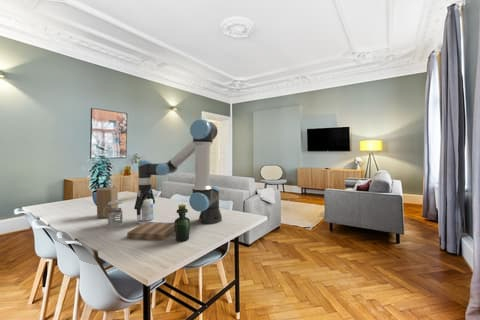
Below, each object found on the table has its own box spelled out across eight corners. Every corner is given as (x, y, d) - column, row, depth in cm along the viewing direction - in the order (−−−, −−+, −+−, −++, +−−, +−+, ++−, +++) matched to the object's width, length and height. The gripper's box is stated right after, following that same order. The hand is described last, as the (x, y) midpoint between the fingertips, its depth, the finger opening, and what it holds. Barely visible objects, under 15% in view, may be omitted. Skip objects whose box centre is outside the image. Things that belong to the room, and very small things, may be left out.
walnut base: (177, 228, 130) (177, 223, 130) (162, 240, 112) (162, 234, 112) (146, 226, 132) (145, 221, 132) (127, 238, 114) (127, 232, 114)
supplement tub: (154, 222, 139) (154, 200, 139) (138, 225, 134) (138, 202, 133) (151, 219, 147) (151, 197, 147) (136, 221, 142) (136, 199, 141)
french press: (126, 224, 137) (126, 185, 136) (106, 229, 128) (105, 187, 127) (121, 220, 143) (120, 183, 142) (101, 225, 135) (100, 185, 134)
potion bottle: (190, 241, 110) (190, 206, 109) (174, 243, 108) (173, 207, 107) (189, 235, 118) (189, 203, 117) (174, 237, 116) (173, 204, 115)
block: (104, 214, 158) (103, 187, 158) (118, 214, 159) (118, 187, 158) (96, 218, 148) (95, 189, 148) (111, 218, 149) (111, 189, 148)
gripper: (149, 181, 153) (150, 211, 153) (127, 187, 128) (128, 222, 129) (159, 181, 152) (160, 211, 152) (139, 187, 127) (139, 222, 128)
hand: (145, 216), depth 140 cm, fingers open, 13 cm apart
